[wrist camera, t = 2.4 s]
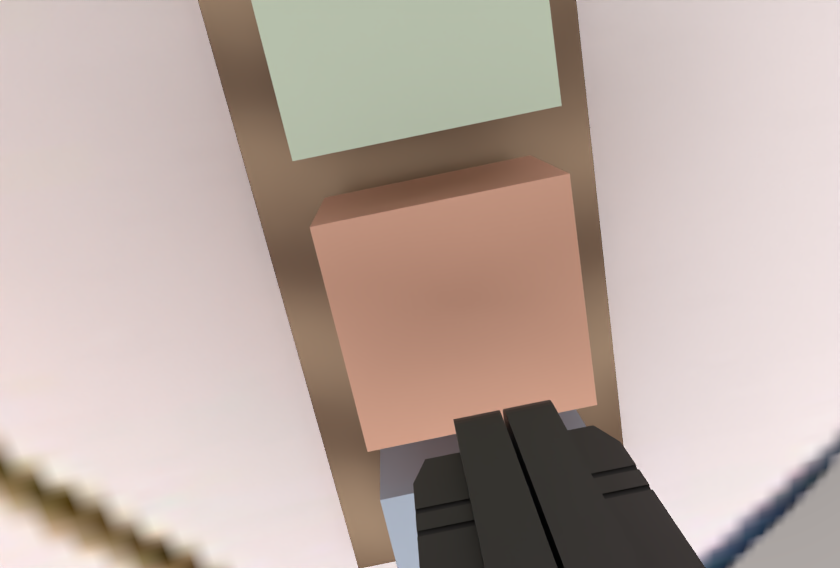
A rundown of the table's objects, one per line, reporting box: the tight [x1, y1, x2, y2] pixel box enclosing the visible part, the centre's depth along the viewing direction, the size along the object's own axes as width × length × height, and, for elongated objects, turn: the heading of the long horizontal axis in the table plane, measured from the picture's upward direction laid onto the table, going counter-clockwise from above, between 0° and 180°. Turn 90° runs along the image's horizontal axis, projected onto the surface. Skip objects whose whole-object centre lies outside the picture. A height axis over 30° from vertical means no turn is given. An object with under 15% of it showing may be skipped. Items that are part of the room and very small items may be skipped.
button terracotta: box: [310, 155, 597, 452], centre depth 17 cm, size 6×6×4 cm
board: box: [198, 0, 623, 568], centre depth 20 cm, size 24×11×3 cm, turn 11°
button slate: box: [380, 409, 586, 568], centre depth 19 cm, size 6×6×4 cm
